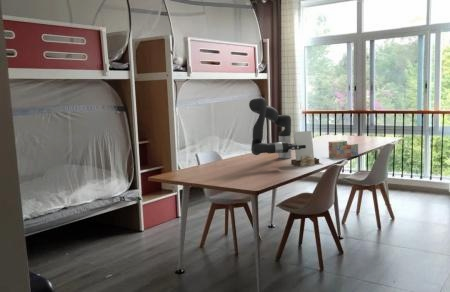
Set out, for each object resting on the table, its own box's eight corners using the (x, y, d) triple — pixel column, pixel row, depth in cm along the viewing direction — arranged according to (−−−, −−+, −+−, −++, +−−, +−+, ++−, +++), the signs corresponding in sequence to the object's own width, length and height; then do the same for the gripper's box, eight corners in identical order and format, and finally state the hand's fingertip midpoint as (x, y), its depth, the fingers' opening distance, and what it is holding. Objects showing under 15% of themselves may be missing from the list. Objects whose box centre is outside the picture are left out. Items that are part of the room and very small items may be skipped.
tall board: (297, 163, 299) (294, 131, 300) (296, 163, 302) (293, 132, 303) (314, 162, 301) (311, 130, 302) (312, 162, 304) (309, 131, 305)
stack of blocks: (354, 155, 336) (353, 139, 334) (358, 156, 330) (358, 139, 328) (328, 157, 331) (328, 141, 330) (332, 158, 325) (332, 142, 324)
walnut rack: (295, 168, 292) (294, 162, 291) (289, 166, 304) (289, 159, 303) (323, 166, 295) (323, 160, 294) (317, 163, 307) (317, 157, 306)
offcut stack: (302, 166, 293) (301, 157, 292) (299, 164, 297) (299, 156, 297) (314, 165, 294) (314, 156, 293) (312, 163, 299) (312, 155, 298)
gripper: (283, 143, 290) (306, 141, 292) (277, 140, 304) (300, 139, 306) (283, 154, 291) (307, 152, 293) (278, 151, 305) (300, 149, 307)
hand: (303, 145), depth 300 cm, fingers open, 8 cm apart
